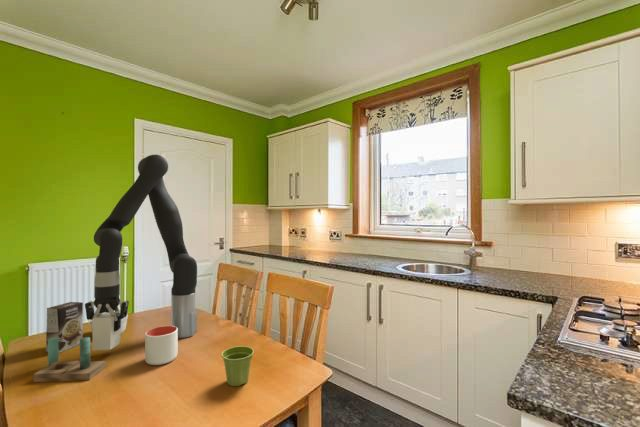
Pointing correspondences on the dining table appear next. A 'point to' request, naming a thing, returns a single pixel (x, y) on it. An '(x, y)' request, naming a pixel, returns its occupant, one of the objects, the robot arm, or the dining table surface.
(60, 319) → the coffee box
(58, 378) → the board
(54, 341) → the pin
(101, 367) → the board
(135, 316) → the dining table surface
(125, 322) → the ramekin
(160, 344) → the cup
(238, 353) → the plant pot
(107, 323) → the block
